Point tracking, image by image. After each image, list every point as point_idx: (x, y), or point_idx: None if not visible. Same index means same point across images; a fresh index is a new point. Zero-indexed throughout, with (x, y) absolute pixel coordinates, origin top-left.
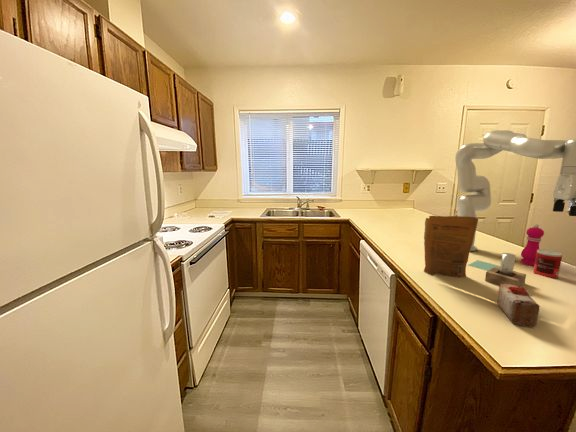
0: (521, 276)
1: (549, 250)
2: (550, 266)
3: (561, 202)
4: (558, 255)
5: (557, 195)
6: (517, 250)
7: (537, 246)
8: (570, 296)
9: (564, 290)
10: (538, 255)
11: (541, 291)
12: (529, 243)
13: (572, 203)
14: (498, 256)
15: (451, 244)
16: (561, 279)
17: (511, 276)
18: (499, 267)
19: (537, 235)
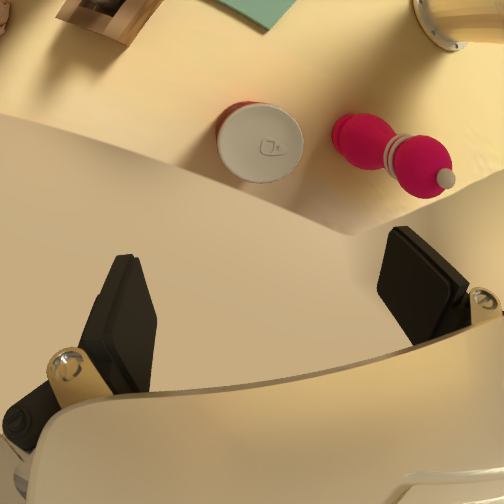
0: (92, 26)
1: (293, 158)
2: (216, 131)
3: (434, 336)
4: (221, 159)
5: (473, 384)
6: None
7: (375, 158)
8: (99, 138)
9: (135, 137)
10: (250, 103)
11: (103, 80)
12: (388, 136)
13: (80, 377)
14: (397, 75)
15: None
16: None
17: (98, 5)
18: None
19: (397, 160)
